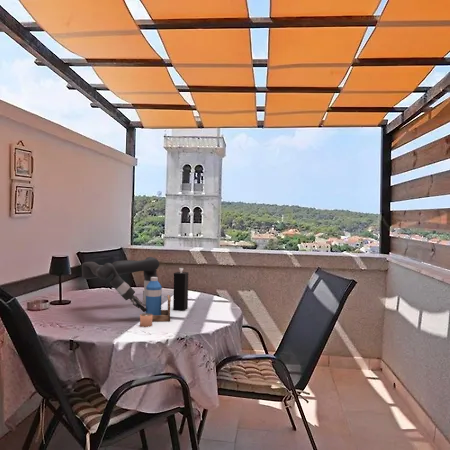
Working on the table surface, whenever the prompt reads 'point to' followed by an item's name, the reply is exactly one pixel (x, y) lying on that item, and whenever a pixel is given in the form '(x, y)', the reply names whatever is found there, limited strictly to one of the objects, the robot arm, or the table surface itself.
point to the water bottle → (153, 297)
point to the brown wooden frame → (163, 314)
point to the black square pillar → (180, 290)
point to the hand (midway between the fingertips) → (145, 311)
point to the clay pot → (146, 320)
